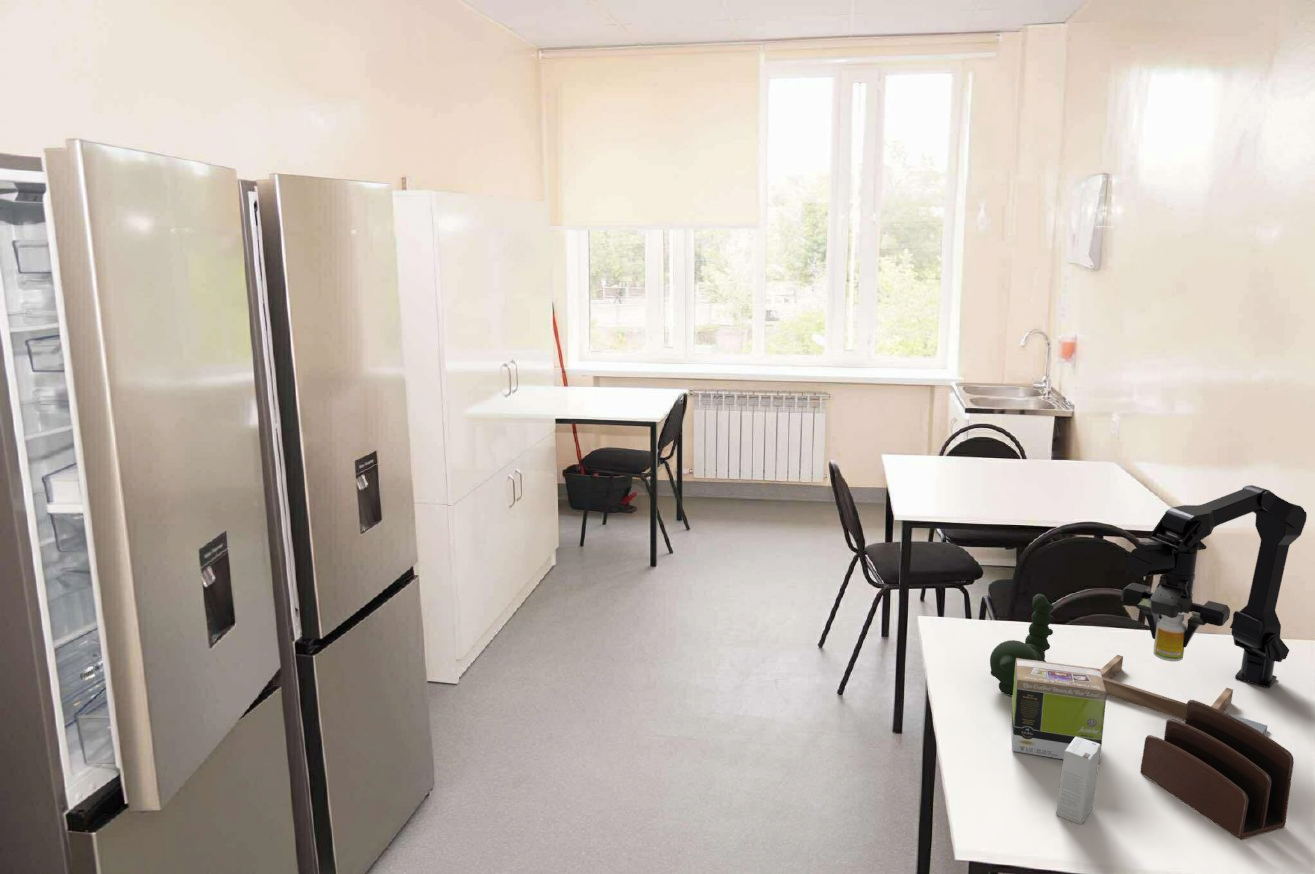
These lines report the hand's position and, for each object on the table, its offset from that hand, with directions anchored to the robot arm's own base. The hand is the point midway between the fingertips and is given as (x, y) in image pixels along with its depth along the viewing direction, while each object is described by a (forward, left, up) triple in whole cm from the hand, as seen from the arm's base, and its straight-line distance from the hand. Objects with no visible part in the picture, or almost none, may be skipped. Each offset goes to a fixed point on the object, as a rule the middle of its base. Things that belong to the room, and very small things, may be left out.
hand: (1169, 642), depth 190 cm
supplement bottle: (0, 0, -3) cm, 3 cm away
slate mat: (+6, +15, -12) cm, 20 cm away
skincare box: (+54, +3, -12) cm, 55 cm away
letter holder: (+34, +17, -12) cm, 40 cm away
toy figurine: (+16, -23, -12) cm, 31 cm away
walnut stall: (+2, 0, -12) cm, 12 cm away
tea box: (+36, -8, -12) cm, 39 cm away
